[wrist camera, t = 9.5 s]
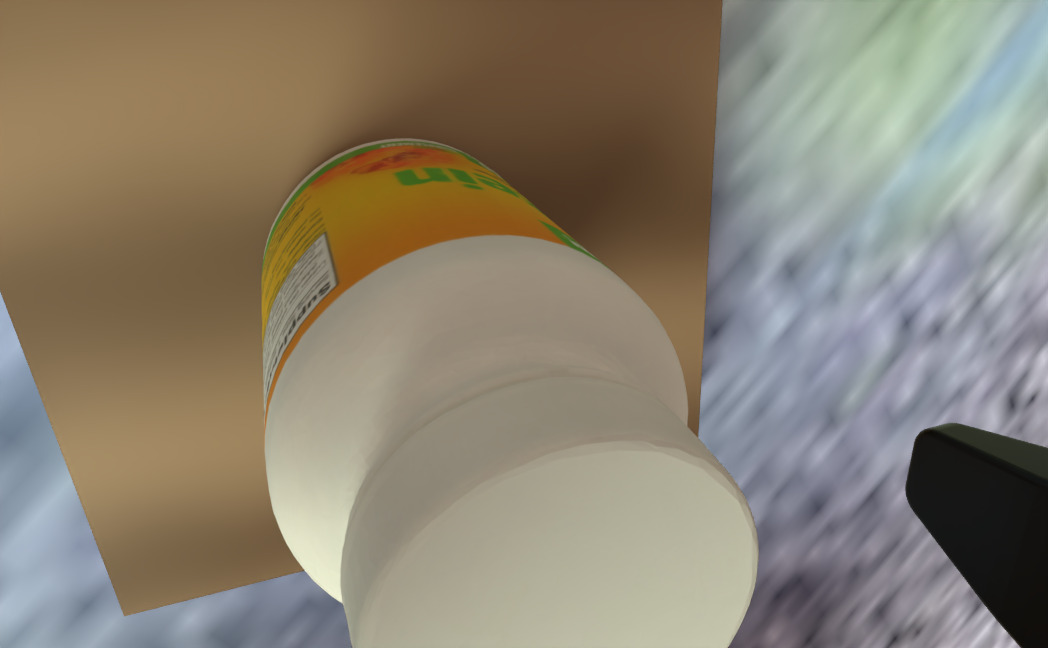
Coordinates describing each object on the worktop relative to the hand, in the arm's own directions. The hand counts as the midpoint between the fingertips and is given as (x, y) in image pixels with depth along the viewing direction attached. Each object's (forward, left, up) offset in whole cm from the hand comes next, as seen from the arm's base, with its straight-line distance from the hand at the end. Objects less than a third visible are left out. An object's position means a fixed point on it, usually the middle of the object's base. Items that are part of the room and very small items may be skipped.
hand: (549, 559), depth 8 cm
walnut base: (0, 0, -12) cm, 12 cm away
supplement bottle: (0, 0, -9) cm, 9 cm away
